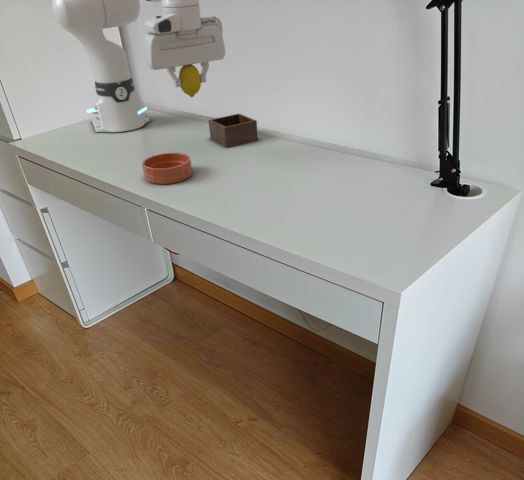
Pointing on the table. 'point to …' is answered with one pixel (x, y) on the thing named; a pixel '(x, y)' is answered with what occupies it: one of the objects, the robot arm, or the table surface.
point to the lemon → (190, 79)
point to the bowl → (167, 168)
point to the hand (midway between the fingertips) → (190, 84)
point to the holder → (233, 130)
